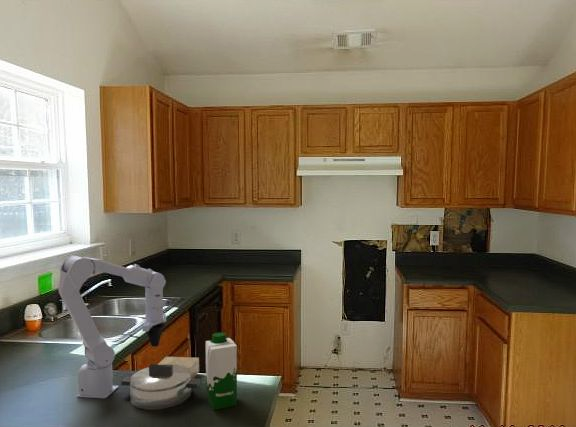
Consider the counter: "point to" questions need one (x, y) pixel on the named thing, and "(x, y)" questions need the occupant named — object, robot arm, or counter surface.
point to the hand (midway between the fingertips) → (155, 345)
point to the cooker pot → (170, 396)
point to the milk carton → (221, 371)
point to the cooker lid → (160, 377)
